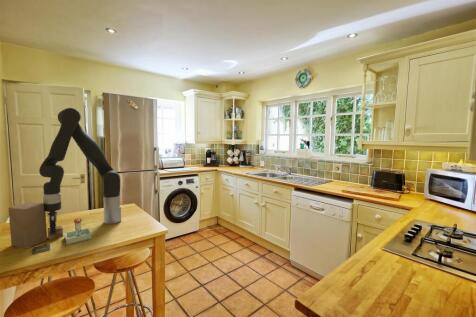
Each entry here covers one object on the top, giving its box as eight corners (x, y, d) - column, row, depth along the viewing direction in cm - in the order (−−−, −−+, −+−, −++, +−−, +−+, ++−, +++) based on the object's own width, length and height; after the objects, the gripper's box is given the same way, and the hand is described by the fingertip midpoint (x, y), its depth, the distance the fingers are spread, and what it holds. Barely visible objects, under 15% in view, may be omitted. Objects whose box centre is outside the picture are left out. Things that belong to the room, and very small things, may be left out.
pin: (82, 235, 125) (81, 218, 124) (82, 237, 122) (81, 220, 121) (74, 237, 123) (73, 219, 121) (75, 239, 120) (74, 221, 119)
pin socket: (50, 244, 115) (49, 243, 115) (50, 249, 110) (50, 248, 110) (33, 248, 111) (33, 247, 111) (33, 253, 106) (33, 252, 106)
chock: (61, 233, 127) (61, 225, 127) (62, 236, 124) (62, 227, 124) (48, 236, 123) (47, 228, 123) (48, 239, 120) (48, 230, 120)
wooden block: (27, 248, 111) (24, 209, 108) (11, 246, 113) (7, 207, 110) (47, 239, 120) (45, 203, 118) (32, 237, 122) (30, 201, 120)
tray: (89, 232, 130) (88, 227, 129) (91, 239, 122) (91, 233, 122) (65, 237, 123) (64, 232, 122) (66, 245, 115) (66, 239, 115)
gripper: (43, 198, 124) (43, 227, 126) (42, 206, 113) (43, 237, 115) (60, 196, 129) (61, 224, 130) (61, 203, 118) (62, 234, 119)
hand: (52, 230), depth 123 cm, fingers open, 6 cm apart
